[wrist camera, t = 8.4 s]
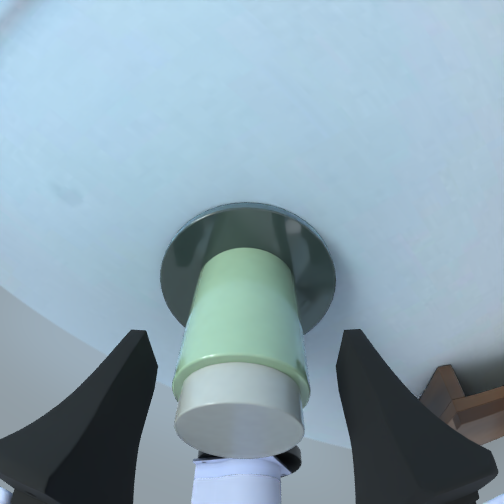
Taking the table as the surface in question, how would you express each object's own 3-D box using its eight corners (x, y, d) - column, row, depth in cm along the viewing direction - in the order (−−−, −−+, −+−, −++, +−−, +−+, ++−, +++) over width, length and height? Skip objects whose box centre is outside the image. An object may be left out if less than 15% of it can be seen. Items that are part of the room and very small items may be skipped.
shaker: (224, 334, 16) (210, 467, 10) (179, 267, 14) (133, 408, 8) (308, 309, 15) (330, 448, 9) (274, 231, 13) (286, 379, 7)
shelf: (503, 401, 23) (519, 437, 18) (399, 429, 23) (411, 477, 19) (546, 339, 18) (571, 379, 14) (437, 366, 19) (461, 424, 14)
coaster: (211, 357, 18) (210, 364, 17) (131, 242, 14) (127, 249, 14) (350, 315, 16) (352, 323, 16) (300, 172, 12) (302, 177, 12)
